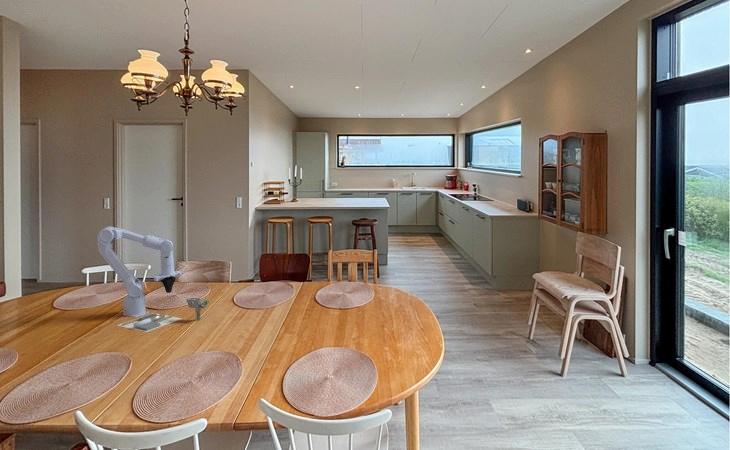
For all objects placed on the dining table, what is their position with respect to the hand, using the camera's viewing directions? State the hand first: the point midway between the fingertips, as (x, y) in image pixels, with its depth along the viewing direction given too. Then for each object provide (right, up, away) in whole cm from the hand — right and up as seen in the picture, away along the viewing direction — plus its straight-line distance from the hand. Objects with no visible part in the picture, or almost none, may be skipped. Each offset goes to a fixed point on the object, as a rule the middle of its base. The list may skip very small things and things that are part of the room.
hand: (168, 292), depth 211 cm
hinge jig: (-2, -11, -15) cm, 19 cm away
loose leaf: (-2, -11, -13) cm, 17 cm away
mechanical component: (+19, -11, -12) cm, 25 cm away
